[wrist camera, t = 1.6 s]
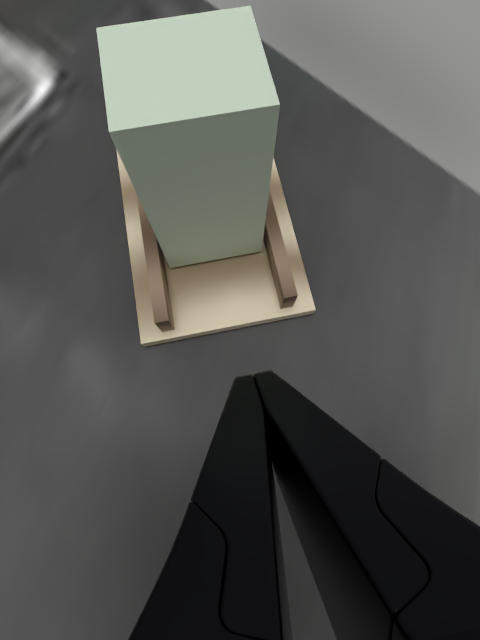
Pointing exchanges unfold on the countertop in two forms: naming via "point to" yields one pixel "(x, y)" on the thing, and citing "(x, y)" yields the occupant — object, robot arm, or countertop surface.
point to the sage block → (194, 128)
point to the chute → (215, 278)
